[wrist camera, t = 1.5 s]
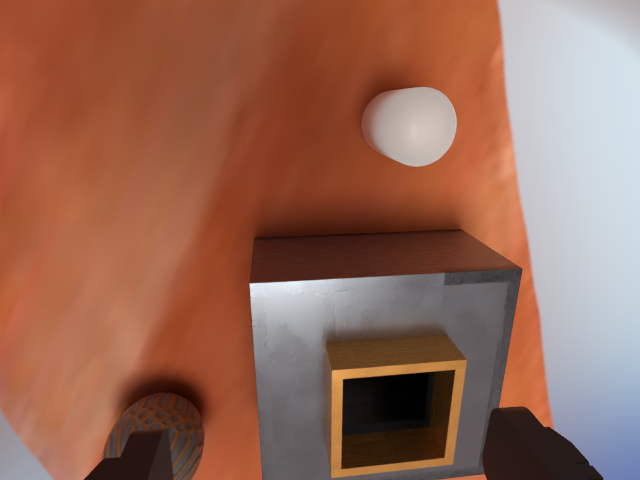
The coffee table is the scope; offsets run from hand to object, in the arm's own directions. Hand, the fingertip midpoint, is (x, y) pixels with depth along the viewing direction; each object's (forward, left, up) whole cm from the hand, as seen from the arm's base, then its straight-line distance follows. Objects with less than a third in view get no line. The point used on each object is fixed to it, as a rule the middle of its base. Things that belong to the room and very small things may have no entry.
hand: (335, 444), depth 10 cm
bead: (-7, +7, -21) cm, 23 cm away
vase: (+16, -11, -21) cm, 29 cm away
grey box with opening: (+11, +5, -21) cm, 24 cm away
